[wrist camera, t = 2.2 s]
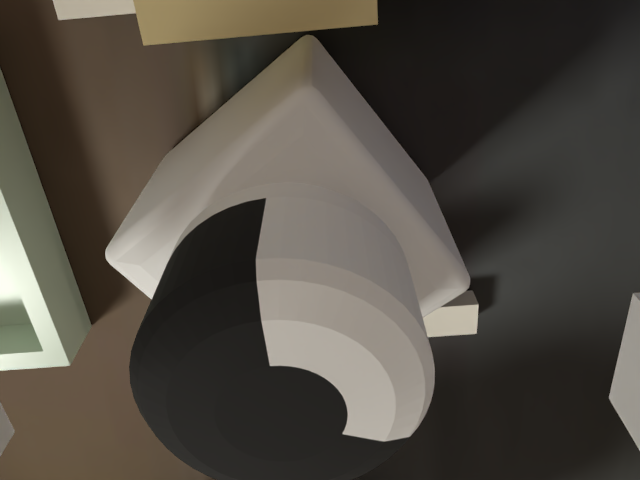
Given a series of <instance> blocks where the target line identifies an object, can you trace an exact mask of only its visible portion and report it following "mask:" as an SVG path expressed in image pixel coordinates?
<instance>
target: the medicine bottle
mask: <svg viewBox="0 0 640 480" xmlns="http://www.w3.org/2000/svg"><path fill="white" fill-rule="evenodd" d="M105 256H106V260H107V261H108V262H109V264H110V265H111V266H113V267H114V268H115V269H116V270H117V271H119V272H120V273H121V274H122V275H123V276H124V277H126V278H127V279H128V280H129V281H130V282H132V283H133V284H134V285H135V286H136V287H137V288H139V289H140V290H141V291H142V292H143V293H145V294H146V295H147V296H148V297H149V298H150V299H152V300H151V302H150V305H149V307H148V309H147V312H146V314H145V316H144V319H143V321H142V323H141V326H140V328H139V330H138V333H137V335H136V338H135V341H134V344H133V347H132V350H131V358H130V365H129V370H130V384H131V388H132V392H133V396H134V399H135V401H136V404H137V406H138V408H139V411H140V413H141V415H142V416H143V418H144V419H145V421H146V422H147V424H148V425H149V427H150V428H151V430H152V431H153V432H154V434H155V435H156V436H157V438H158V439H159V440H160V441H161V442H162V443H163V444H164V445H165V447H166V448H167V449H168V450H170V451H171V452H172V453H173V454H174V455H175V456H176V457H178V458H179V459H180V460H182V461H183V462H185V463H186V464H188V465H189V466H191V467H192V468H194V469H196V470H198V471H199V472H201V473H203V474H205V475H207V476H209V477H212V478H214V479H217V480H352V479H355V478H357V477H360V476H362V475H364V474H366V473H367V472H369V471H371V470H373V469H375V468H376V467H378V466H379V465H381V464H382V463H383V462H385V461H386V460H388V459H389V458H390V457H391V456H392V455H393V454H394V453H396V452H397V451H398V450H399V449H400V448H401V447H402V446H403V445H404V444H405V442H406V441H407V440H408V439H409V438H410V437H411V435H412V434H413V433H414V432H415V431H416V429H417V428H418V427H419V425H420V423H421V421H422V420H423V418H424V416H425V415H426V413H427V410H428V407H429V405H430V402H431V400H432V395H433V390H434V385H435V367H434V361H433V355H432V350H431V347H430V343H429V339H428V336H427V332H426V328H425V325H424V321H423V317H425V316H427V315H428V314H430V313H432V312H433V311H435V310H436V309H438V308H440V307H441V306H443V305H445V304H446V303H448V302H449V301H451V300H453V299H454V298H456V297H457V296H459V295H461V294H462V293H464V292H465V291H466V290H467V289H468V288H469V285H470V276H469V274H468V271H467V269H466V267H465V265H464V262H463V260H462V258H461V255H460V253H459V251H458V249H457V246H456V244H455V242H454V239H453V237H452V235H451V232H450V230H449V228H448V226H447V223H446V221H445V219H444V216H443V214H442V212H441V209H440V207H439V205H438V203H437V200H436V198H435V196H434V193H433V191H432V189H431V187H430V184H429V182H428V180H427V178H426V177H425V176H424V174H423V173H422V172H421V171H420V169H419V168H418V167H417V165H416V164H415V163H414V162H413V160H412V159H411V158H410V157H409V155H408V154H407V153H406V151H405V150H404V149H403V148H402V146H401V145H400V144H399V142H398V141H397V140H396V139H395V137H394V136H393V135H392V134H391V132H390V131H389V130H388V128H387V127H386V126H385V125H384V123H383V122H382V121H381V120H380V118H379V117H378V116H377V114H376V113H375V112H374V111H373V109H372V108H371V107H370V106H369V104H368V103H367V102H366V100H365V99H364V98H363V97H362V95H361V94H360V93H359V91H358V90H357V89H356V88H355V86H354V85H353V84H352V83H351V81H350V80H349V79H348V77H347V76H346V75H345V74H344V72H343V71H342V70H341V69H340V67H339V66H338V65H337V63H336V62H335V61H334V60H333V58H332V57H331V56H330V55H329V53H328V52H327V51H326V49H325V48H324V47H323V46H322V44H321V43H320V42H319V40H318V39H317V38H315V37H314V36H313V35H305V36H303V37H301V38H300V39H299V40H298V41H296V42H295V43H294V44H293V45H292V46H291V47H289V48H288V49H287V50H286V51H285V52H284V53H283V54H281V55H280V56H279V57H278V58H277V59H276V60H274V61H273V62H272V63H271V64H270V65H269V66H268V67H266V68H265V69H264V70H263V71H262V72H261V73H259V74H258V75H257V76H256V77H255V78H254V79H253V80H251V81H250V82H249V83H248V84H247V85H246V86H245V87H243V88H242V89H241V90H240V91H239V92H238V93H236V94H235V95H234V96H233V97H232V98H231V99H230V100H228V101H227V102H226V103H225V104H224V105H223V106H221V107H220V108H219V109H218V110H217V111H216V112H215V113H213V114H212V115H211V116H210V117H209V118H208V119H206V120H205V121H204V122H203V123H202V124H201V125H200V126H198V127H197V128H196V129H195V130H194V131H193V132H191V133H190V134H189V135H188V136H187V137H186V138H185V139H183V140H182V141H181V142H180V143H179V144H178V145H176V146H175V147H174V148H173V149H172V150H171V151H170V152H168V153H167V154H166V155H165V156H164V158H163V159H162V161H161V163H160V164H159V166H158V167H157V169H156V170H155V172H154V174H153V175H152V177H151V178H150V180H149V182H148V183H147V185H146V186H145V188H144V189H143V191H142V193H141V194H140V196H139V197H138V199H137V200H136V202H135V204H134V205H133V207H132V208H131V210H130V211H129V213H128V215H127V216H126V218H125V219H124V221H123V222H122V224H121V226H120V227H119V229H118V230H117V232H116V234H115V235H114V237H113V238H112V240H111V241H110V243H109V245H108V246H107V248H106V251H105Z"/></svg>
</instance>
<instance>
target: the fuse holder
mask: <svg viewBox="0 0 640 480" xmlns="http://www.w3.org/2000/svg"><path fill="white" fill-rule="evenodd" d="M53 3H54V7H55V10H56V13H57V17H58V20H66V19H77V18H88V17H99V16H110V15H121V14H132V13H136V15H137V20H138V24H139V28H140V33H141V37H142V41H143V46H144V45H155V44H166V43H177V42H188V41H199V40H210V39H222V38H233V37H244V36H255V35H266V34H277V33H288V32H300V31H311V30H322V29H333V28H344V27H355V26H366V25H378V11H377V0H53ZM478 306H479V304H478V302H477V300H476V297H475V295H474V292H473V290H471V291H465V292H464V293H462V294H461V295H459V296H457V297H456V298H454V299H453V300H451V301H449V302H448V303H446V304H445V305H443V306H441V307H440V308H438V309H436V310H435V311H433V312H432V313H430V314H428V315H427V316H425V317H423V321H424V325H425V328H426V332H427V336H428V337H437V336H452V335H466V334H477V322H478Z"/></svg>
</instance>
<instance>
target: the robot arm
mask: <svg viewBox="0 0 640 480" xmlns="http://www.w3.org/2000/svg"><path fill="white" fill-rule="evenodd" d="M609 400H610V401H611V403H612V405H613V406H614V408H615V410H616V411H617V413H618V415H619V416H620V418H621V420H622V422H623V423H624V425H625V427H626V428H627V430H628V432H629V433H630V435H631V437H632V438H633V440H634V442H635V443H636V445H637V447H638V449H639V450H640V293H633V295H632V299H631V304H630V308H629V312H628V317H627V321H626V325H625V330H624V334H623V338H622V343H621V347H620V351H619V356H618V360H617V364H616V368H615V373H614V377H613V381H612V386H611V390H610V394H609ZM14 432H15V431H14V429H13V427H12V425H11V423H10V421H9V419H8V417H7V415H6V413H5V411H4V409H3V407H2V405H1V403H0V456H1V454H2V453H3V451H4V449H5V448H6V446H7V444H8V442H9V441H10V439H11V437H12V436H13V434H14Z"/></svg>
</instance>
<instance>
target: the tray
mask: <svg viewBox="0 0 640 480" xmlns="http://www.w3.org/2000/svg"><path fill="white" fill-rule="evenodd" d="M91 327H92V325H91V322H90V320H89V317H88V314H87V311H86V308H85V305H84V303H83V300H82V297H81V294H80V291H79V289H78V286H77V283H76V280H75V277H74V274H73V272H72V269H71V266H70V263H69V260H68V258H67V255H66V252H65V249H64V246H63V243H62V241H61V238H60V235H59V232H58V229H57V226H56V224H55V221H54V218H53V215H52V212H51V210H50V207H49V204H48V201H47V198H46V195H45V193H44V190H43V187H42V184H41V181H40V178H39V176H38V173H37V170H36V167H35V164H34V162H33V159H32V156H31V153H30V150H29V147H28V145H27V142H26V139H25V136H24V133H23V130H22V128H21V125H20V122H19V119H18V116H17V114H16V111H15V108H14V105H13V102H12V99H11V97H10V94H9V91H8V88H7V85H6V82H5V80H4V77H3V74H2V71H1V68H0V371H1V370H15V369H30V368H44V367H58V366H70V365H71V363H72V361H73V359H74V358H75V356H76V354H77V352H78V350H79V348H80V347H81V345H82V343H83V341H84V339H85V337H86V336H87V334H88V332H89V330H90V328H91Z"/></svg>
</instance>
